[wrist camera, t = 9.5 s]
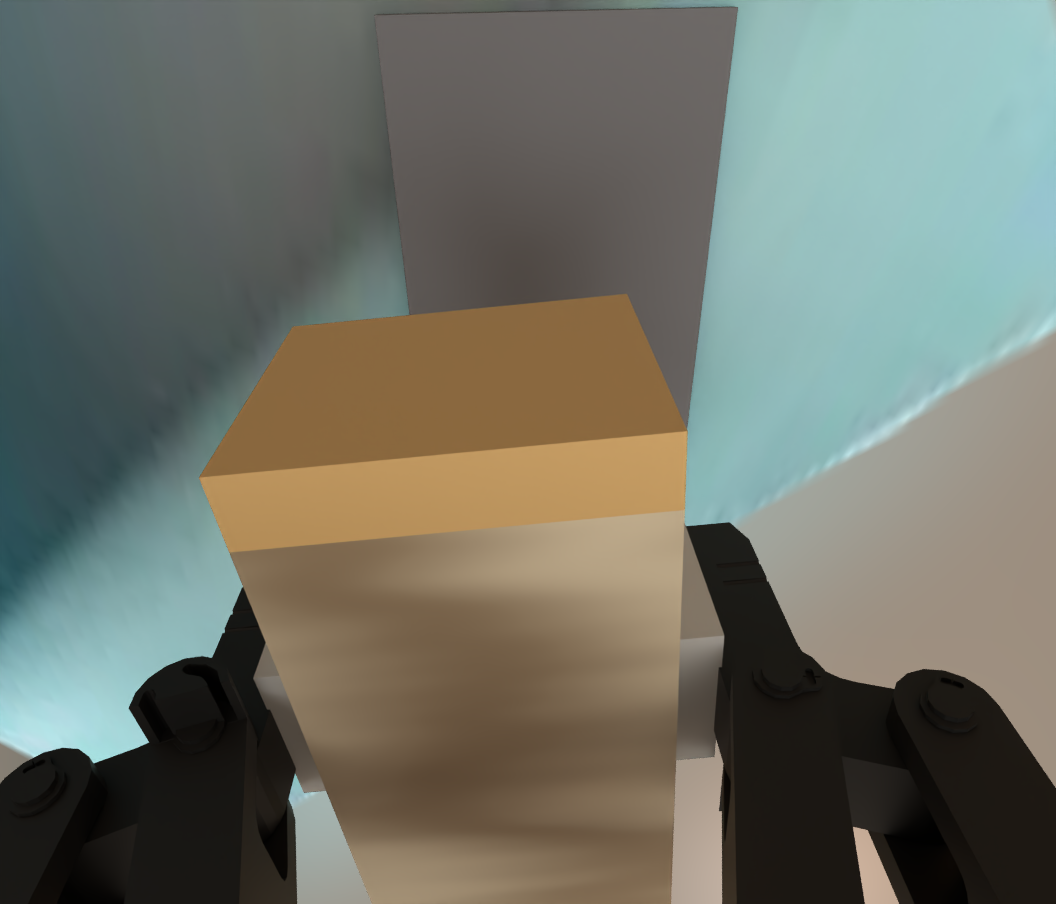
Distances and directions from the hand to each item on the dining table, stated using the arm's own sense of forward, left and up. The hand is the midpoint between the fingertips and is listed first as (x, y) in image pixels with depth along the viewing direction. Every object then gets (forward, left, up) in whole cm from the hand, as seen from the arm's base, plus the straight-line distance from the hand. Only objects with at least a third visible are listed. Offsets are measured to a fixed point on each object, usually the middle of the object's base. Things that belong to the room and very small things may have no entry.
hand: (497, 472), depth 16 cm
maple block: (+1, -7, +5) cm, 9 cm away
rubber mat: (+1, -1, -15) cm, 15 cm away
